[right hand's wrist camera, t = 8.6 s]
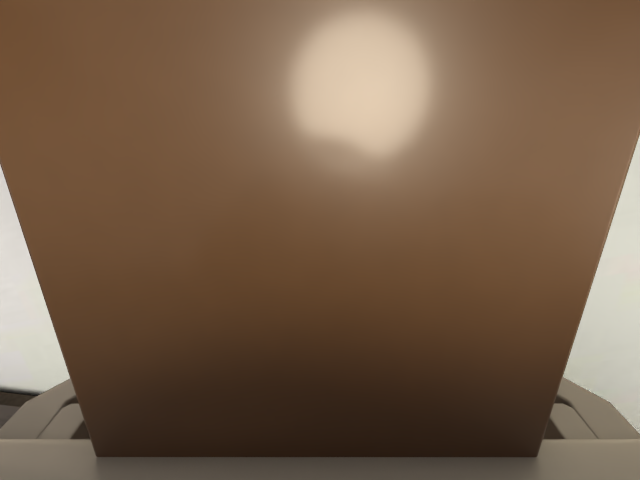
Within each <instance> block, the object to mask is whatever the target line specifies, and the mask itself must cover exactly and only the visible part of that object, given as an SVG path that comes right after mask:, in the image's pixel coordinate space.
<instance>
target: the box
mask: <svg viewBox="0 0 640 480" xmlns="http://www.w3.org/2000/svg"><path fill="white" fill-rule="evenodd" d="M639 135H640V0H0V164H1V167H2V170H3V173H4V177H5V180H6V183H7V186H8V189H9V192H10V195H11V198H12V201H13V204H14V207H15V210H16V213H17V216H18V219H19V222H20V226H21V229H22V232H23V235H24V238H25V241H26V244H27V247H28V250H29V253H30V256H31V259H32V262H33V265H34V268H35V271H36V274H37V278H38V281H39V284H40V287H41V290H42V293H43V296H44V299H45V302H46V305H47V308H48V311H49V314H50V317H51V320H52V323H53V327H54V330H55V333H56V336H57V339H58V342H59V345H60V348H61V351H62V354H63V357H64V360H65V363H66V366H67V369H68V372H69V375H70V379H71V382H72V385H73V388H74V391H75V394H76V397H77V400H78V403H79V406H80V409H81V412H82V415H83V418H84V421H85V424H86V428H87V431H88V434H89V437H90V440H91V443H92V446H93V449H94V452H95V455H96V456H97V457H537V456H538V453H539V449H540V446H541V443H542V440H543V437H544V434H545V430H546V427H547V424H548V421H549V418H550V415H551V412H552V408H553V405H554V402H555V399H556V396H557V393H558V390H559V386H560V383H561V380H562V377H563V374H564V371H565V368H566V364H567V361H568V358H569V355H570V352H571V349H572V346H573V342H574V339H575V336H576V333H577V330H578V327H579V324H580V320H581V317H582V314H583V311H584V308H585V305H586V301H587V298H588V295H589V292H590V289H591V286H592V283H593V279H594V276H595V273H596V270H597V267H598V264H599V261H600V257H601V254H602V251H603V248H604V245H605V242H606V239H607V235H608V232H609V229H610V226H611V223H612V220H613V217H614V213H615V210H616V207H617V204H618V201H619V198H620V194H621V191H622V188H623V185H624V182H625V179H626V176H627V172H628V169H629V166H630V163H631V160H632V157H633V154H634V150H635V147H636V144H637V141H638V138H639Z"/></svg>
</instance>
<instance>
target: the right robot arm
mask: <svg viewBox="0 0 640 480" xmlns="http://www.w3.org/2000/svg"><path fill="white" fill-rule="evenodd" d="M0 480H640V434H639V433H638V432H637V431H636V430H635V429H634V428H633V427H632V425H631V424H630V423H629V422H628V421H627V420H626V419H625V418H624V417H623V416H622V415H621V414H620V413H619V412H618V411H617V409H616V408H615V407H614V406H613V405H612V404H611V403H610V402H608V401H606V400H604V399H602V398H601V397H599V396H597V395H595V394H593V393H591V392H589V391H588V390H586V389H584V388H582V387H580V386H578V385H576V384H575V383H573V382H571V381H569V380H567V379H565V378H564V377H562V380H561V383H560V386H559V390H558V393H557V396H556V399H555V402H554V405H553V408H552V412H551V415H550V418H549V421H548V424H547V427H546V430H545V434H544V437H543V440H542V443H541V446H540V449H539V453H538V456H537V457H97V456H96V455H95V452H94V449H93V446H92V443H91V440H90V437H89V434H88V431H87V428H86V424H85V421H84V418H83V415H82V412H81V409H80V406H79V403H78V400H77V397H76V394H75V391H74V388H73V385H72V382H71V379H68V380H66V381H64V382H63V383H61V384H59V385H57V386H55V387H53V388H51V389H49V390H47V391H46V392H44V393H42V394H40V395H38V396H36V397H34V398H32V399H31V400H29V401H27V402H25V403H24V405H23V406H22V407H21V408H20V409H19V410H18V411H17V412H16V413H15V414H14V415H13V416H12V417H11V418H10V419H9V420H8V421H7V422H6V423H5V424H4V425H3V426H2V427H1V428H0Z"/></svg>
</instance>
